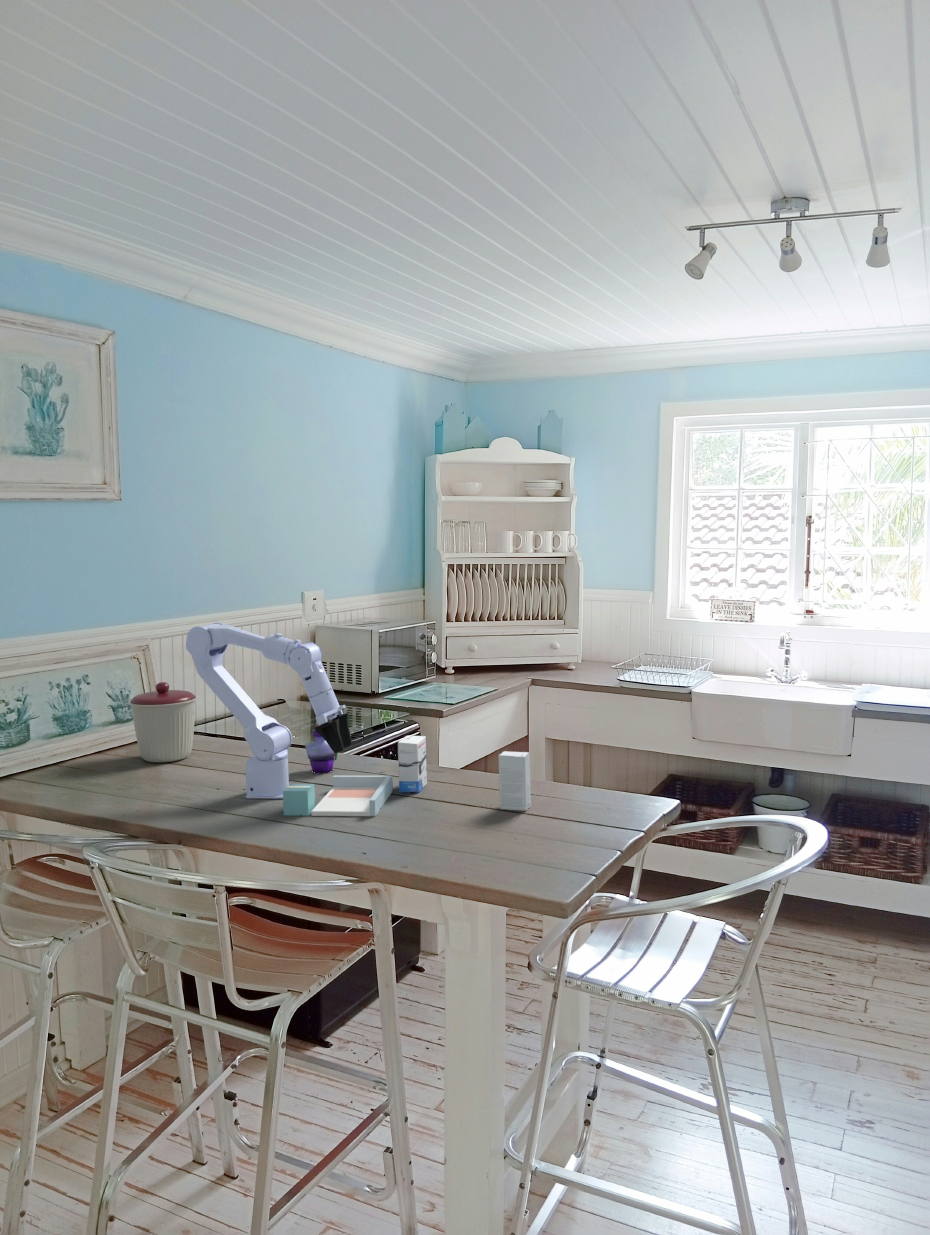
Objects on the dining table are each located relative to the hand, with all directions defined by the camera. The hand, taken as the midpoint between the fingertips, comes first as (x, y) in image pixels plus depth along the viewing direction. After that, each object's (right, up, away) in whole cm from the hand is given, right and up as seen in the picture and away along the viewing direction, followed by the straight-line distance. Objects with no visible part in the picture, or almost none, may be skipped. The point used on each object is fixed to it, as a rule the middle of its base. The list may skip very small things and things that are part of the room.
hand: (343, 749), depth 219 cm
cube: (-9, -13, -7) cm, 17 cm away
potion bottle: (-9, -9, +27) cm, 30 cm away
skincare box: (+38, -12, -9) cm, 41 cm away
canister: (-54, -9, +45) cm, 71 cm away
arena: (+3, -12, -1) cm, 12 cm away
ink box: (+15, -11, +9) cm, 21 cm away
